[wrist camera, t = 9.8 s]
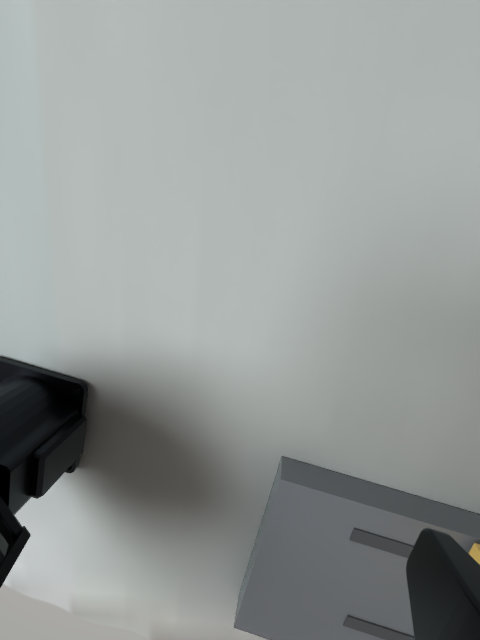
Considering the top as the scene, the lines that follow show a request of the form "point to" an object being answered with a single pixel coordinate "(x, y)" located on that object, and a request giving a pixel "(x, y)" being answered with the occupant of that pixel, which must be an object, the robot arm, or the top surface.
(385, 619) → the grey slotted board
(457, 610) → the robot arm
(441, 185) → the top surface
